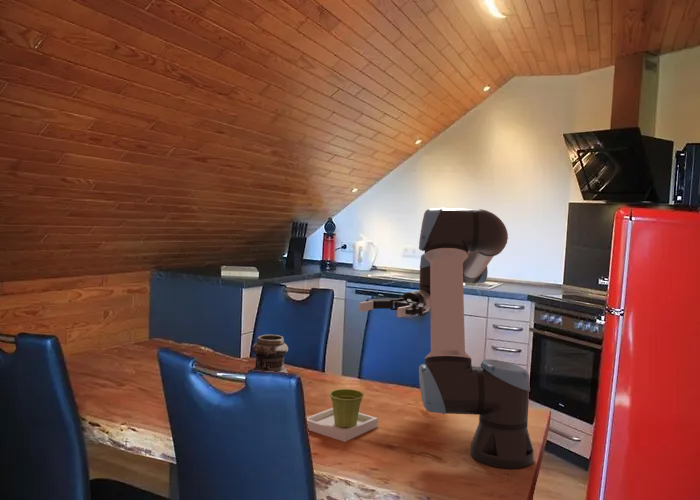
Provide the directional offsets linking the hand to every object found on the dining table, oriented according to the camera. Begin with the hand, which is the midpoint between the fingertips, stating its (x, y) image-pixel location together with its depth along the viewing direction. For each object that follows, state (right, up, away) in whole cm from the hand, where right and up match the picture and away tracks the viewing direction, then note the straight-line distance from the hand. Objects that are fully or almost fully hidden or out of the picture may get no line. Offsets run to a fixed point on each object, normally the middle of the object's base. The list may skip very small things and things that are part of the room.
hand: (378, 309), depth 171 cm
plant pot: (-10, -31, -10) cm, 34 cm away
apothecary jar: (-36, -30, +24) cm, 52 cm away
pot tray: (-11, -32, -9) cm, 35 cm away
